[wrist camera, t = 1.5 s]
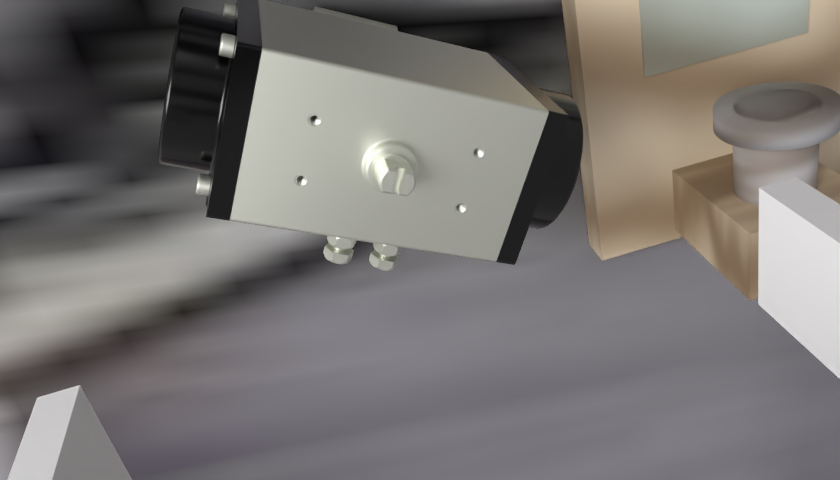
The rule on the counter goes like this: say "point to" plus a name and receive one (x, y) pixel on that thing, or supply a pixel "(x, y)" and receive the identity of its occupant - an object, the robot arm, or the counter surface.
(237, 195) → the pneumatic valve
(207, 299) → the counter surface
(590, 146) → the pipe stand
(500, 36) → the counter surface
